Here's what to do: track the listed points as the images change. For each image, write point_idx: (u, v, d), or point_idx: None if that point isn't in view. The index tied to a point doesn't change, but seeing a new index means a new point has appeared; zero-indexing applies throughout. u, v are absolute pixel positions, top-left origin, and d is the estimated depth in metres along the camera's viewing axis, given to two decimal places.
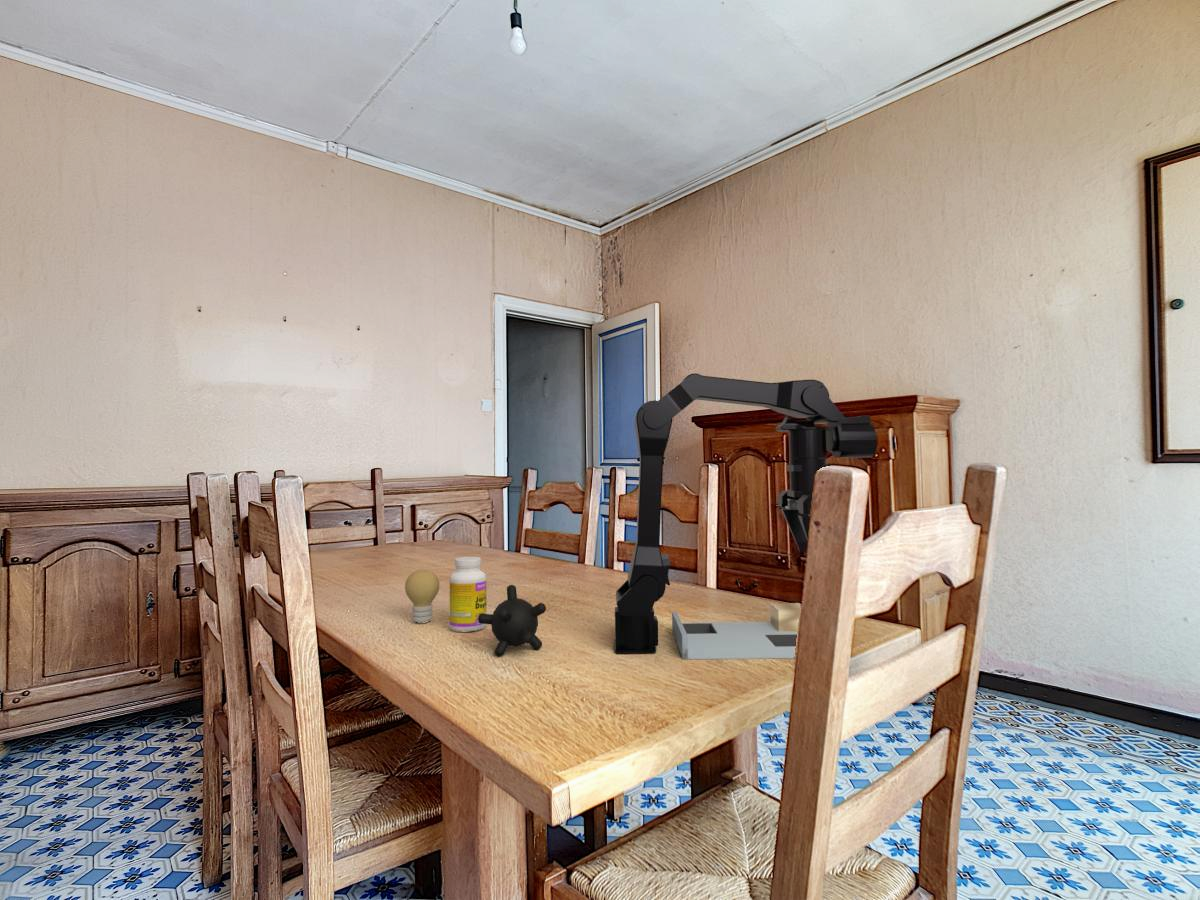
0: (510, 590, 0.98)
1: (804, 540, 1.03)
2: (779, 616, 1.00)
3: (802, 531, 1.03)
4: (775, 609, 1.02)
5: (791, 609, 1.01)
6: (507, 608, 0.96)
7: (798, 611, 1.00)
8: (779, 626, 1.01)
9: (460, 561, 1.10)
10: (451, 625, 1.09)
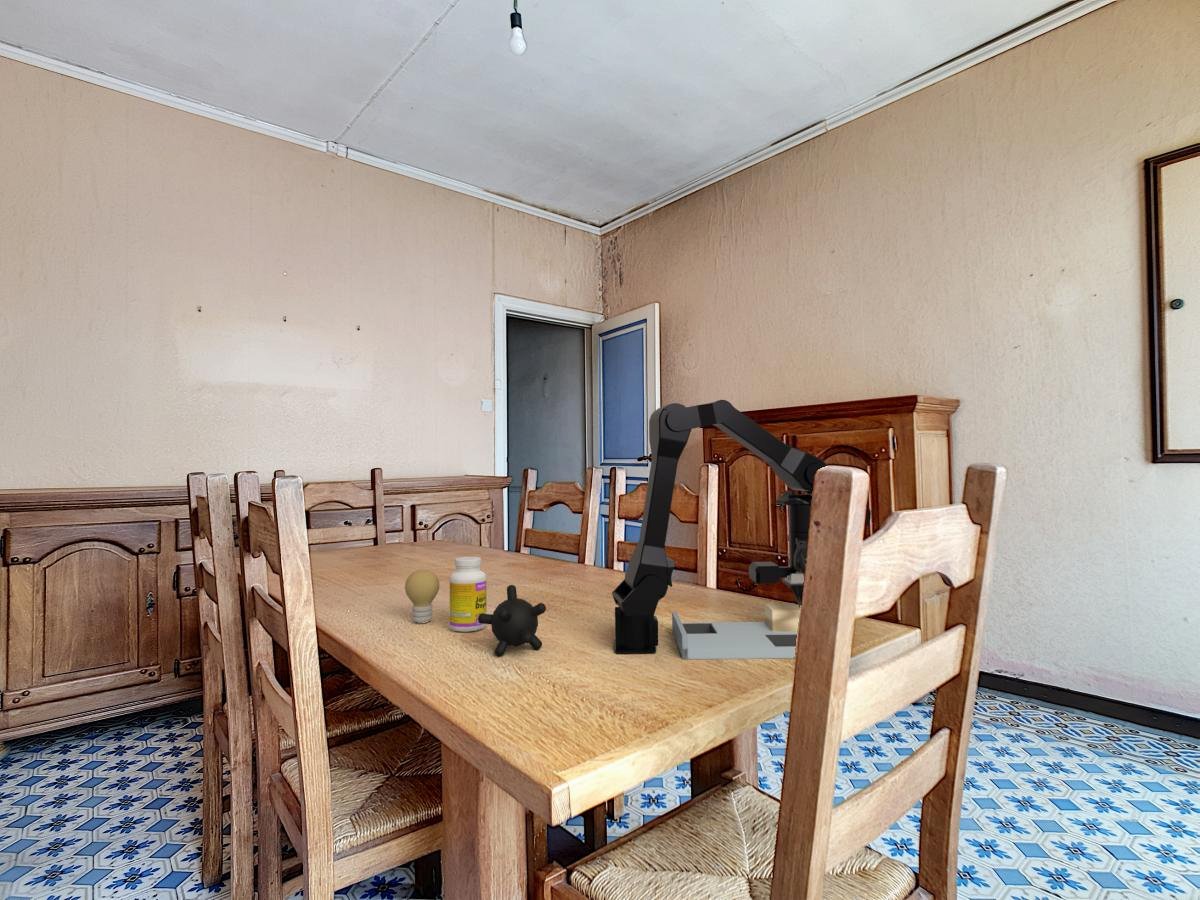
0: (510, 590, 0.98)
1: None
2: (773, 616, 1.01)
3: None
4: (769, 609, 1.02)
5: (785, 609, 1.01)
6: (507, 608, 0.96)
7: (792, 611, 1.01)
8: (773, 626, 1.01)
9: (460, 561, 1.10)
10: (451, 625, 1.09)
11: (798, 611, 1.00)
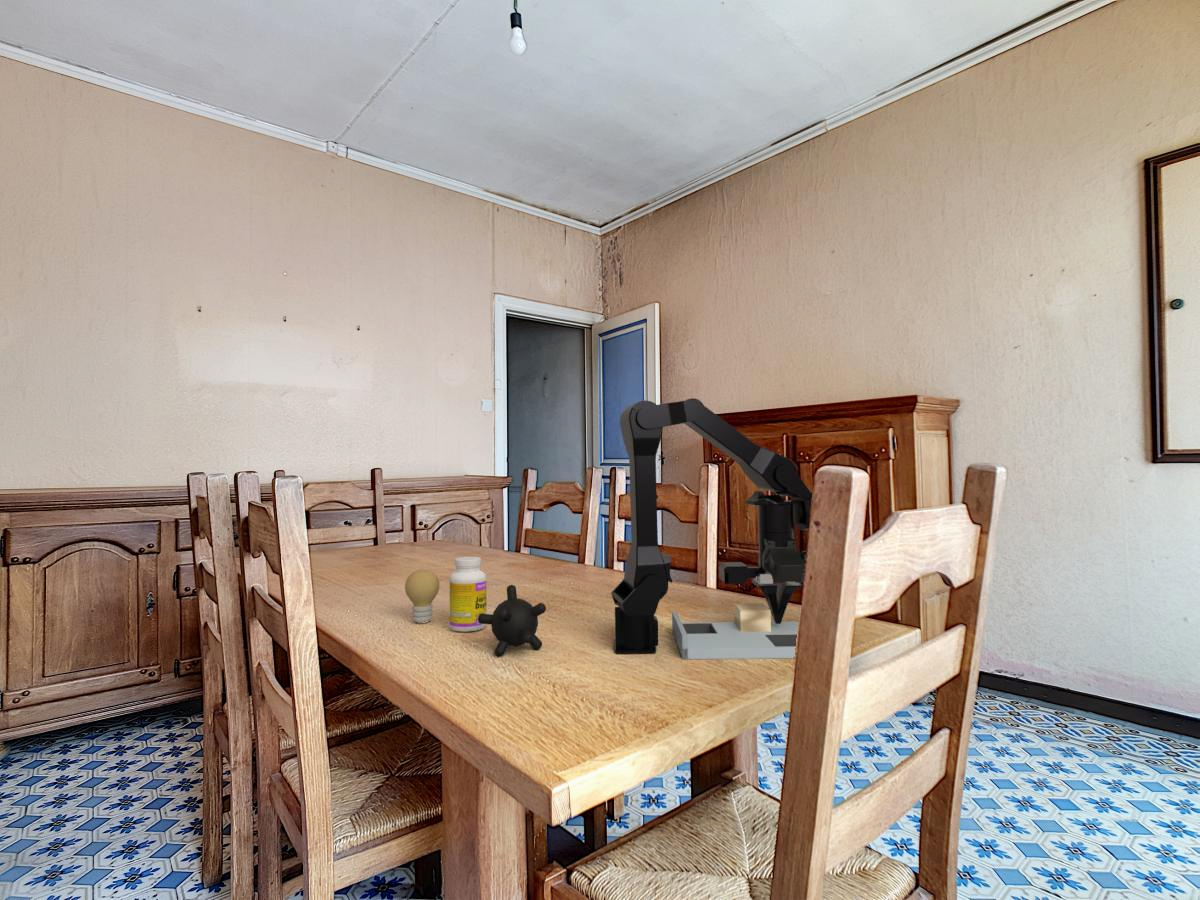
0: (510, 590, 0.98)
1: None
2: (741, 616, 1.01)
3: (778, 604, 1.03)
4: (738, 609, 1.03)
5: (753, 609, 1.01)
6: (507, 608, 0.96)
7: (760, 611, 1.01)
8: (741, 626, 1.01)
9: (460, 561, 1.10)
10: (451, 625, 1.09)
11: (766, 611, 1.01)
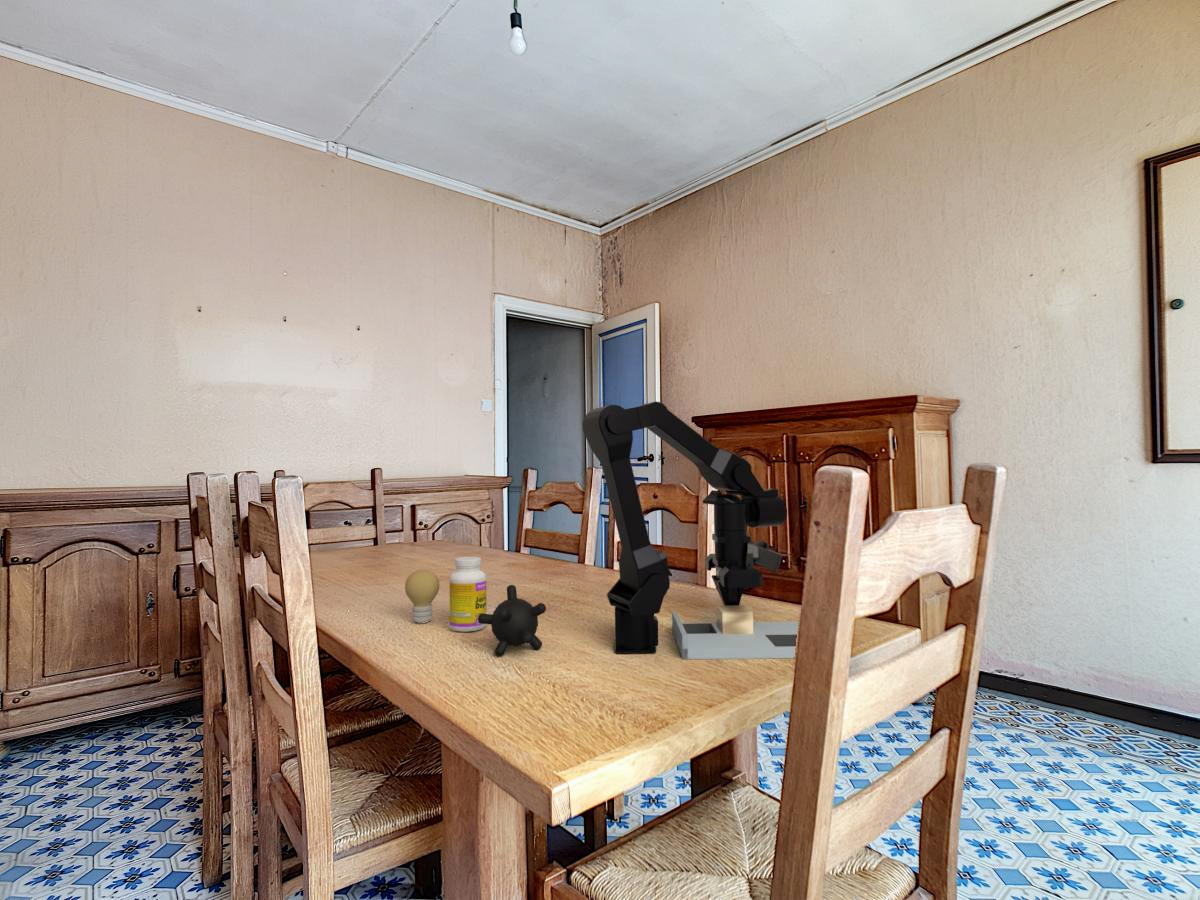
0: (510, 590, 0.98)
1: None
2: (723, 619, 0.99)
3: None
4: (720, 611, 1.01)
5: (735, 611, 1.00)
6: (507, 608, 0.96)
7: (742, 613, 0.99)
8: (723, 629, 0.99)
9: (460, 561, 1.10)
10: (451, 625, 1.09)
11: (748, 613, 0.99)
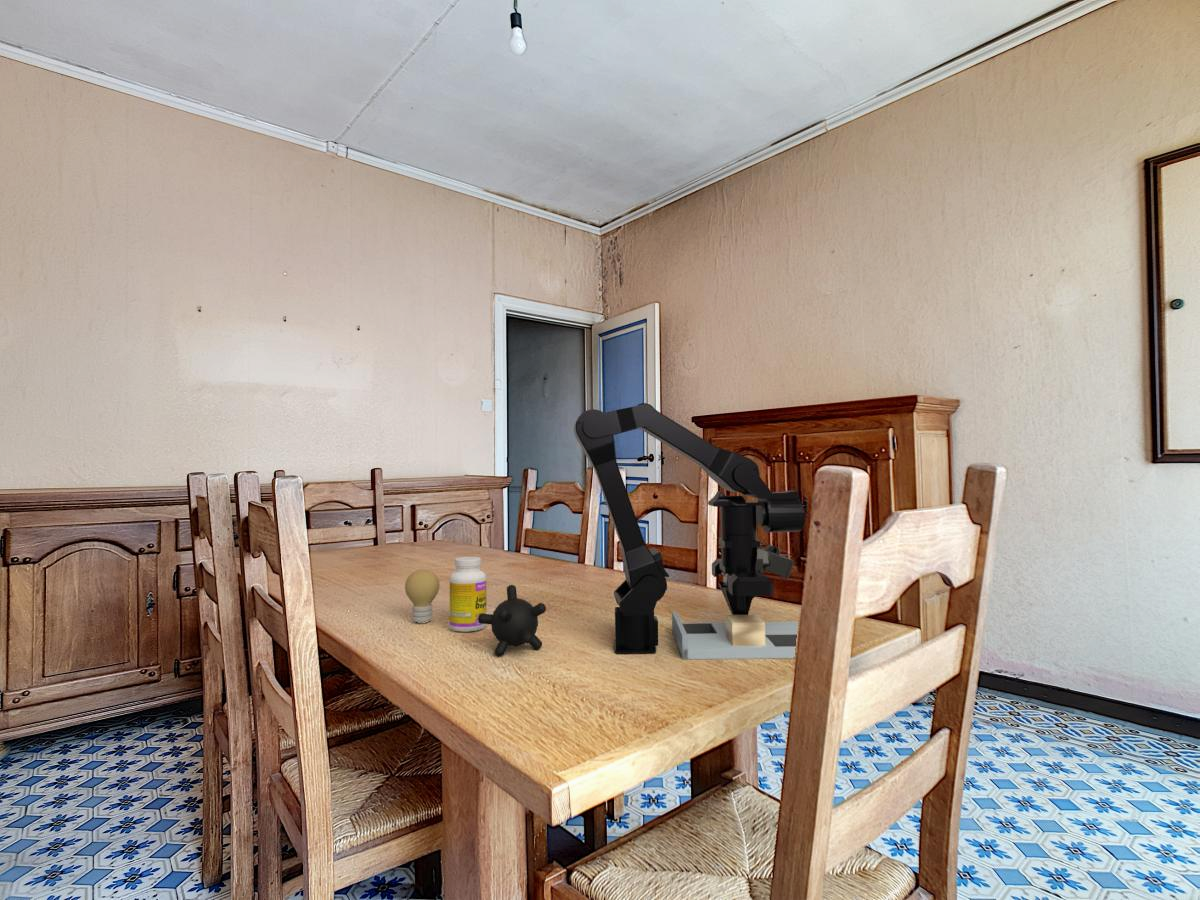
0: (510, 590, 0.98)
1: None
2: (733, 629, 0.93)
3: None
4: (729, 621, 0.95)
5: (746, 622, 0.94)
6: (507, 608, 0.96)
7: (753, 624, 0.93)
8: (733, 640, 0.93)
9: (460, 561, 1.10)
10: (451, 625, 1.09)
11: (760, 624, 0.93)
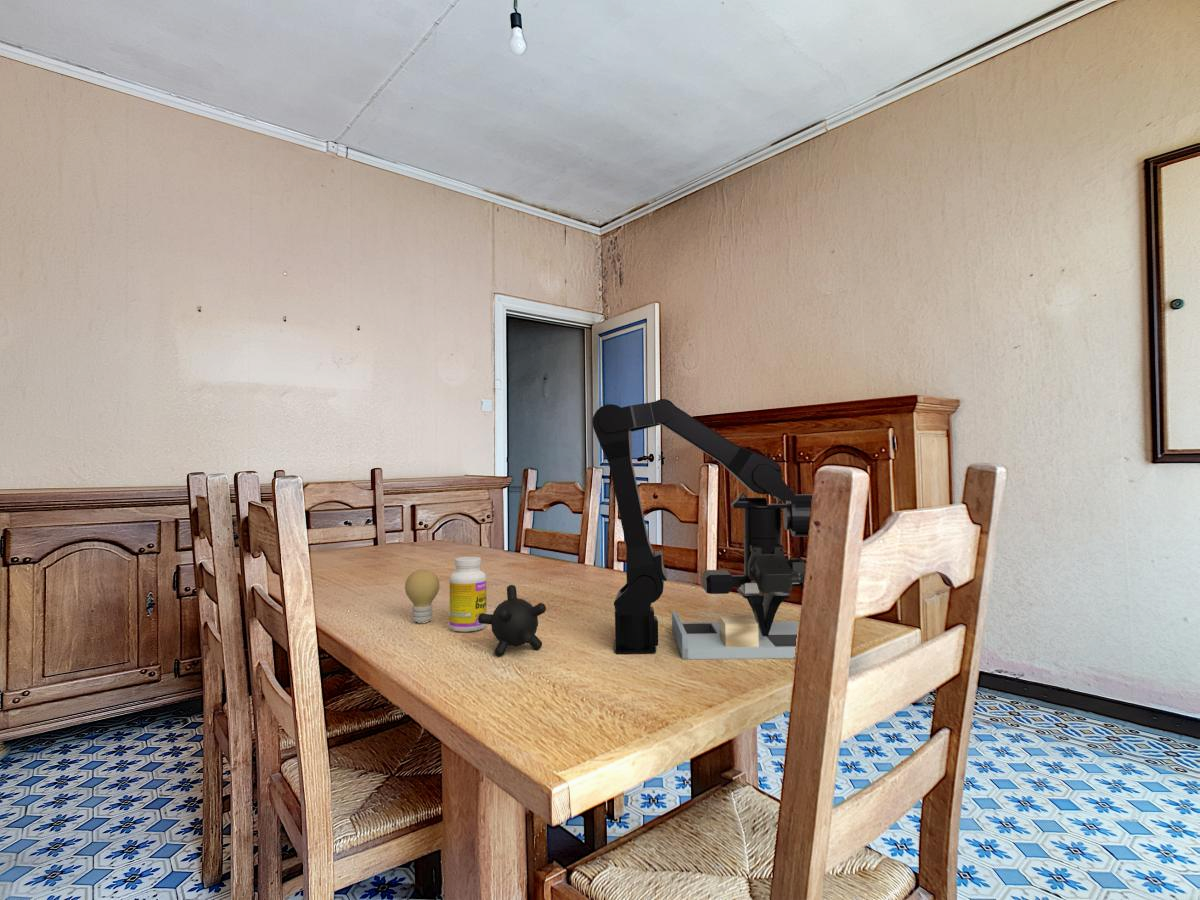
0: (510, 590, 0.98)
1: None
2: (726, 630, 0.92)
3: (765, 615, 0.96)
4: (723, 622, 0.94)
5: (739, 623, 0.93)
6: (507, 608, 0.96)
7: (747, 625, 0.92)
8: (726, 641, 0.93)
9: (460, 561, 1.10)
10: (451, 625, 1.09)
11: (753, 625, 0.92)
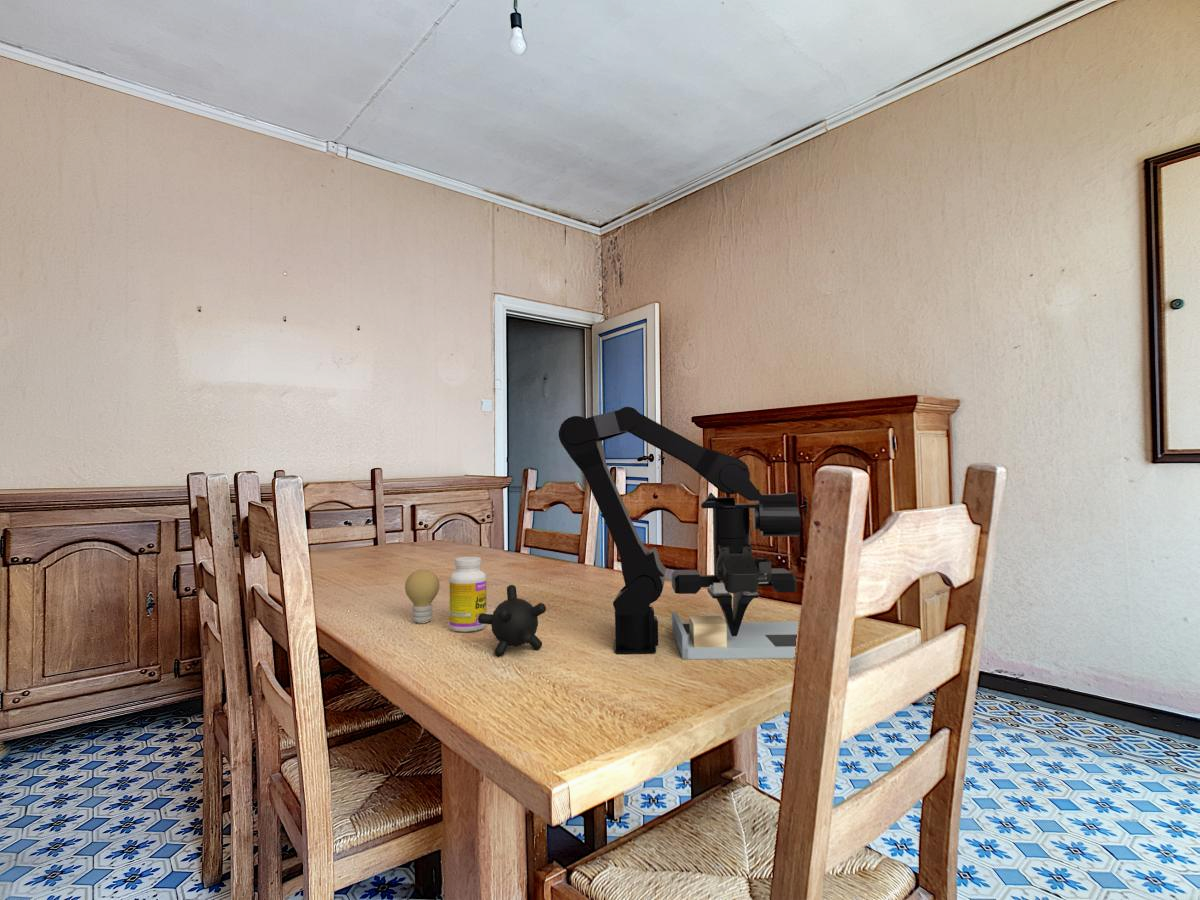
0: (510, 590, 0.98)
1: (733, 625, 0.95)
2: (694, 631, 0.93)
3: (734, 614, 0.96)
4: (692, 623, 0.94)
5: (708, 623, 0.93)
6: (507, 608, 0.96)
7: (715, 625, 0.93)
8: (694, 641, 0.93)
9: (460, 561, 1.10)
10: (451, 625, 1.09)
11: (722, 625, 0.93)
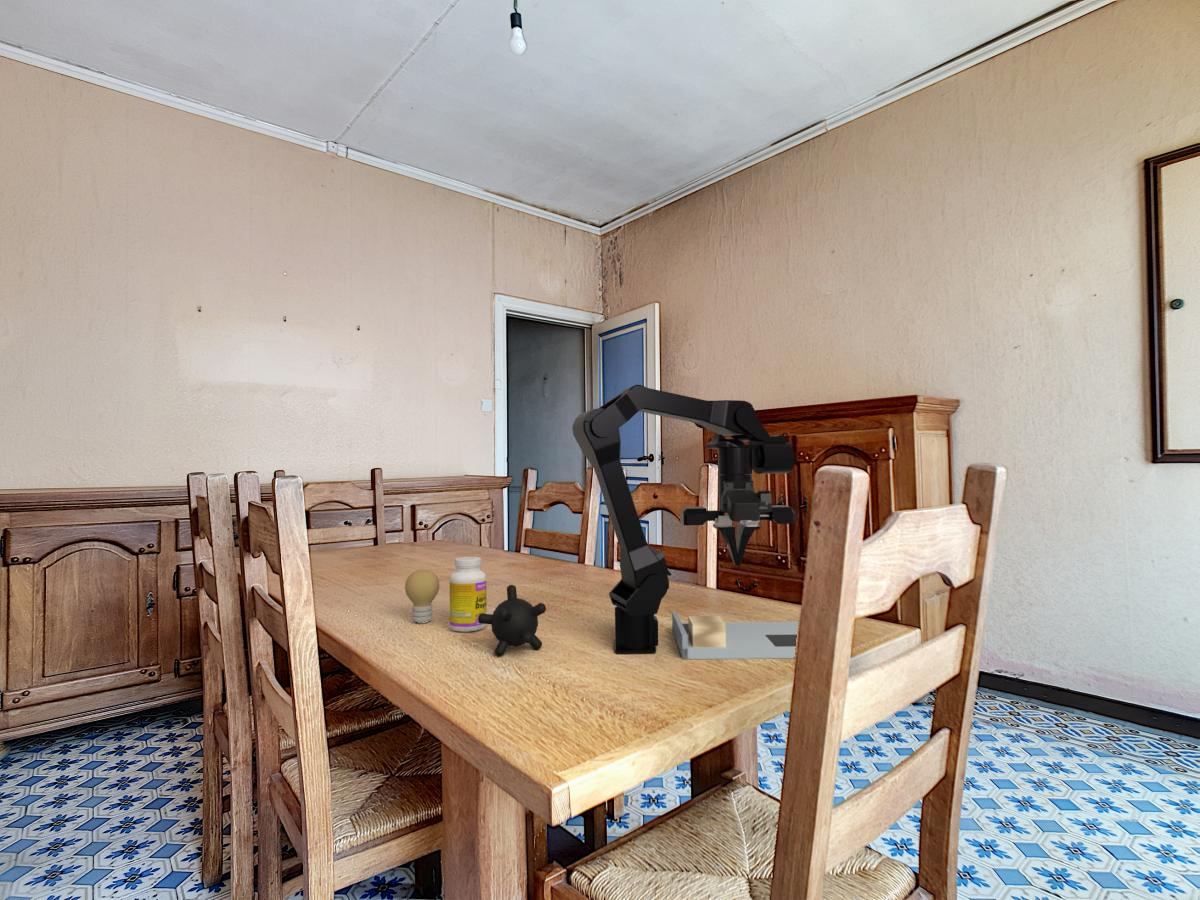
0: (510, 590, 0.98)
1: None
2: (693, 631, 0.93)
3: (738, 546, 1.04)
4: (691, 623, 0.94)
5: (707, 623, 0.93)
6: (507, 607, 0.96)
7: (714, 625, 0.93)
8: (693, 641, 0.93)
9: (460, 561, 1.10)
10: (451, 625, 1.09)
11: (721, 625, 0.93)
